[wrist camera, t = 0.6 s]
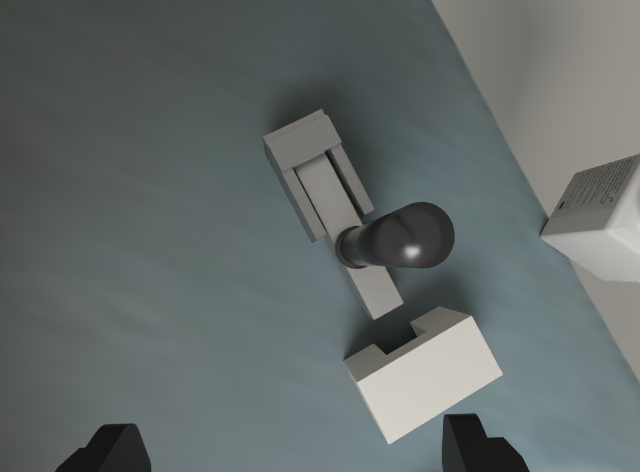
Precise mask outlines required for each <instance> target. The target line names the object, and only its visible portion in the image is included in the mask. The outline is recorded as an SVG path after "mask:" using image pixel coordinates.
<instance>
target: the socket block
mask: <svg viewBox="0 0 640 472" xmlns="http://www.w3.org/2000/svg"><path fill="white" fill-rule="evenodd" d="M410 324H411V326H412V328H413V330H414V332H415V334H416V336H417V338H415V339H413V340H412V341H410V342H408V343H407V344H405V345H403V346H401V347H400V348H398V349H396V350H395V351H393V352H391V353H389V354H388V355H386V354H385V353H384V352H383V351H381V350H380V349H379V348H378V347H377V346H376V345H375V344H374V343H373V344H371V345H370V346H368V347H366V348H365V349H363V350H361V351H359V352H358V353H356V354H354V355H352V356H351V357H349V358H347V359H345V360H344V363H345V365H346V367H347V369H348V371H349V373H350V375H351V377H352V379H353V381H354V383H355V384H356V386H357V388H358V390H359V392H360V394H361V396H362V398H363V400H364V402H365V404H366V406H367V407H368V409H369V411H370V413H371V415H372V416H373V418H374V420H375V421H376V423H377V425H378V427H379V428H380V430H381V432H382V433H383V435H384V437H385V439H386V440H387V442H388V444H391V443H392V442H394V441H396V440H397V439H399V438H400V437H402V436H404V435H405V434H407V433H409V432H410V431H412V430H413V429H415V428H417V427H418V426H420V425H422V424H423V423H425V422H426V421H428V420H430V419H431V418H433V417H435V416H436V415H438V414H439V413H441V412H443V411H444V410H446V409H448V408H449V407H451V406H452V405H454V404H456V403H457V402H459V401H461V400H462V399H464V398H465V397H467V396H469V395H470V394H472V393H474V392H475V391H477V390H478V389H480V388H482V387H483V386H485V385H487V384H488V383H490V382H491V381H493V380H495V379H496V378H498V377H500V376H501V375H503V374H502V372H501V370H500V368H499V366H498V365H497V363H496V361H495V359H494V357H493V355H492V353H491V351H490V349H489V348H488V346H487V344H486V342H485V340H484V338H483V336H482V334H481V332H480V330H479V329H478V327H477V325H476V323H475V321H474V319H473V317H472V316H471V315H468V314H464V313H461V312H457V311H454V310H450V309H447V308H443V307H440V306H438V307H436V308H434V309H432V310H431V311H429V312H427V313H426V314H424V315H422V316H420V317H419V318H417V319H415V320H413V321H412V322H410Z"/></svg>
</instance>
